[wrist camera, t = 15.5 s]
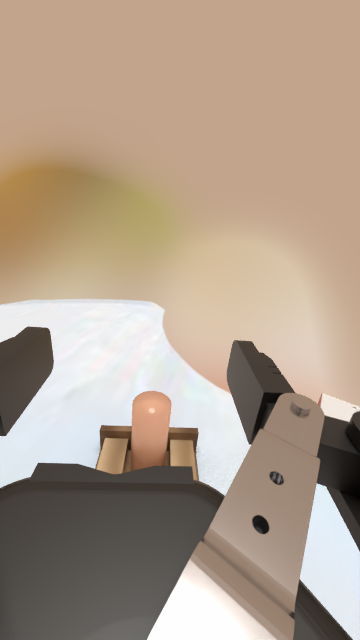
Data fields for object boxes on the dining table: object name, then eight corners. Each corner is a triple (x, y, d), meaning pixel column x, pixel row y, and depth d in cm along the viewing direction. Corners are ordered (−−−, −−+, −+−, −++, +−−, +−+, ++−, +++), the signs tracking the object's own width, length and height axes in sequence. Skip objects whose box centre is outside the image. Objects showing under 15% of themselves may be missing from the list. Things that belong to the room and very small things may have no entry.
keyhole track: (56, 609, 24) (50, 584, 22) (102, 447, 40) (101, 425, 38) (212, 605, 25) (218, 581, 23) (194, 449, 41) (197, 428, 40)
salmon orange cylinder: (128, 484, 34) (130, 417, 30) (132, 452, 39) (134, 390, 34) (164, 485, 35) (171, 418, 30) (164, 453, 39) (170, 391, 35)
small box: (304, 438, 46) (321, 391, 42) (339, 454, 43) (361, 406, 39) (297, 472, 39) (316, 420, 35) (337, 493, 36) (364, 440, 32)
